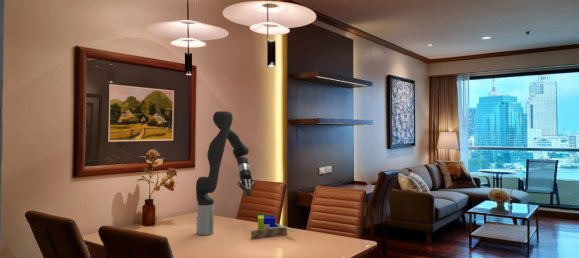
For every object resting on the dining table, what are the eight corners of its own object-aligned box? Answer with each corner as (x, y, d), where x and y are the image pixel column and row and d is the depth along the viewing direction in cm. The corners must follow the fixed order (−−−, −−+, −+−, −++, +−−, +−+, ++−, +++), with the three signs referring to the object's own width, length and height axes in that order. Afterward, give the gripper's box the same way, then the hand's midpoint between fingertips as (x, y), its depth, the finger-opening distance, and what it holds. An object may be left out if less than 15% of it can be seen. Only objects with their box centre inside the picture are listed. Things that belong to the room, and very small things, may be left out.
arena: (261, 244, 220) (261, 234, 220) (240, 232, 245) (240, 224, 245) (296, 239, 230) (296, 230, 230) (273, 228, 255) (273, 221, 255)
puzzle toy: (275, 235, 239) (275, 218, 239) (257, 235, 238) (258, 218, 238) (274, 231, 249) (274, 215, 249) (257, 231, 248) (257, 215, 248)
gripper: (236, 168, 262) (241, 192, 253) (256, 169, 268) (261, 192, 259) (233, 174, 268) (237, 198, 258) (252, 175, 274) (256, 198, 264)
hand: (249, 195), depth 258 cm, fingers closed
